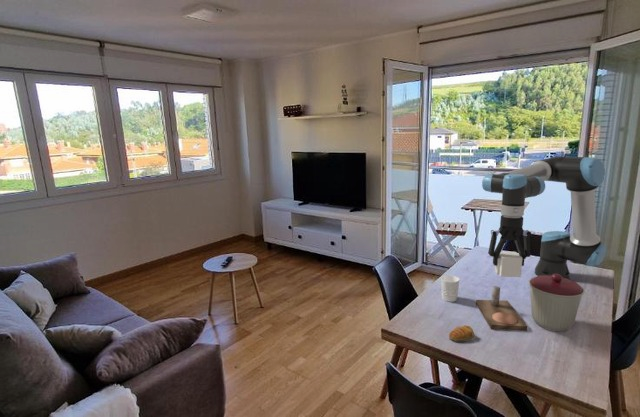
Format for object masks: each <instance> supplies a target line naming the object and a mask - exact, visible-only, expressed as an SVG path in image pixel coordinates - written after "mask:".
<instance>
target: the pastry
mask: <svg viewBox="0 0 640 417" xmlns="http://www.w3.org/2000/svg"><path fill="white" fill-rule="evenodd" d="M448 338H449V339H450V340H452V341H454V342H467V341H470V340H473V339H475V338H476V334H475V332H474V330H473V328H472V326H470V325H466V324H465V325H460V326H456V327H455V328H454V329H453V330H451V331H450V332H449V335H448Z"/></svg>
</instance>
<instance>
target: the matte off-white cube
mask: <svg viewBox="0 0 640 417" xmlns="http://www.w3.org/2000/svg"><path fill="white" fill-rule="evenodd" d="M499 258H500V269H499V274H498V275H499V276H500V277H503V278H521V277H522V268H523V266H522V257H521V256H520V255H519V253H518V252H517V251H506V250H505V251H501V253H500V255H499Z"/></svg>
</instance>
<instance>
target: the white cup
mask: <svg viewBox="0 0 640 417" xmlns="http://www.w3.org/2000/svg"><path fill="white" fill-rule="evenodd" d="M440 288H441V289H440V291H441V299H442V300H443V301H444V302H448V301H450V303H451V302H452V303H454V302H457V300H458V295H459V294H458V293H459V288H460V278H459V277H458V276H456V275H451V274H446V275H445V274H444V275H442V276H441V277H440Z"/></svg>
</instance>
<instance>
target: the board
mask: <svg viewBox="0 0 640 417" xmlns="http://www.w3.org/2000/svg"><path fill="white" fill-rule="evenodd" d="M500 294H501V287H500V286H495V285H494V286H492V288H491V299H476V301H475V305H476V306H477V309H479V312H480V313H481V315H482V317H483V318H484V320H485V322H486V323H487V324H488V326H489V329H490V330H492V331H493V330H494V331H495V330H496V331H517V332H518V331H520V332H521V331H523V332H526V331H527V332H528V325H527V324H526V322H525V321H524V320H523V319H522V318H521V316H520V315H519V313H518V312H517V311H516V310H515V308H514V307H513V305H511V304H510V301H508V300H501V298H500V296H501V295H500Z"/></svg>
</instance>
